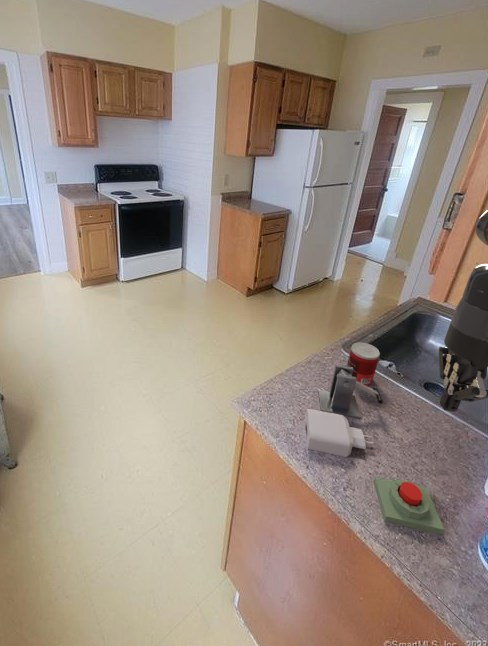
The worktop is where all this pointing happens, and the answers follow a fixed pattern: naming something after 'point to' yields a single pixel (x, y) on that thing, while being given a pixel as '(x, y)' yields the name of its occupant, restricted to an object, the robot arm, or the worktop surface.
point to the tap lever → (365, 387)
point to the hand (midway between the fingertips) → (447, 407)
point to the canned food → (363, 362)
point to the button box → (407, 507)
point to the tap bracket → (340, 395)
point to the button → (410, 493)
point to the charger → (332, 433)
